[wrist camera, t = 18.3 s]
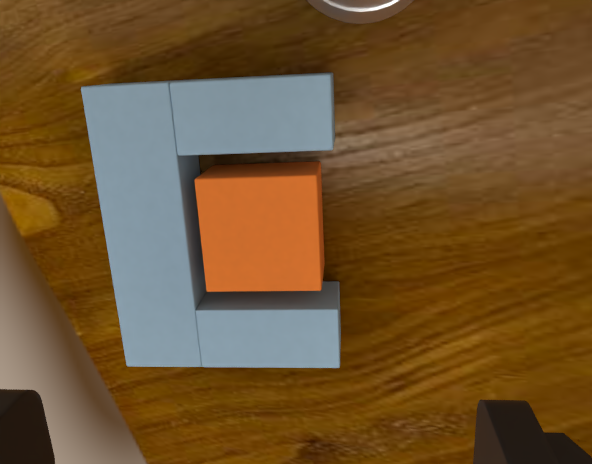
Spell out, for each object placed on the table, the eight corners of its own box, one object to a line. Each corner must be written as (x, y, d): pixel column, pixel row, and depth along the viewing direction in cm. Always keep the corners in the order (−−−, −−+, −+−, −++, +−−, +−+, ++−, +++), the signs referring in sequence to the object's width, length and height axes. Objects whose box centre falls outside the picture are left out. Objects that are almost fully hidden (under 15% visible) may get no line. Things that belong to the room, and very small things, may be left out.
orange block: (212, 164, 28) (193, 178, 24) (320, 161, 27) (317, 175, 24) (222, 266, 29) (205, 292, 26) (324, 264, 29) (321, 291, 25)
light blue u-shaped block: (113, 83, 27) (79, 86, 24) (333, 72, 26) (331, 74, 22) (149, 334, 31) (126, 367, 28) (340, 334, 30) (339, 368, 27)
